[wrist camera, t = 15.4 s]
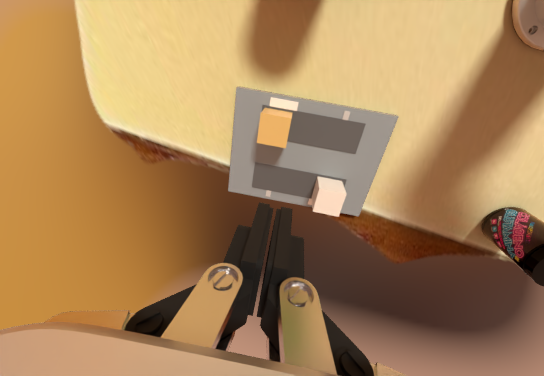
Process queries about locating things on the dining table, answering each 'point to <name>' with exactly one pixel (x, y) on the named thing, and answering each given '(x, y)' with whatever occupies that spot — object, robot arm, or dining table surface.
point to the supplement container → (518, 239)
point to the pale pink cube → (328, 196)
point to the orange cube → (274, 127)
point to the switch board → (307, 149)
